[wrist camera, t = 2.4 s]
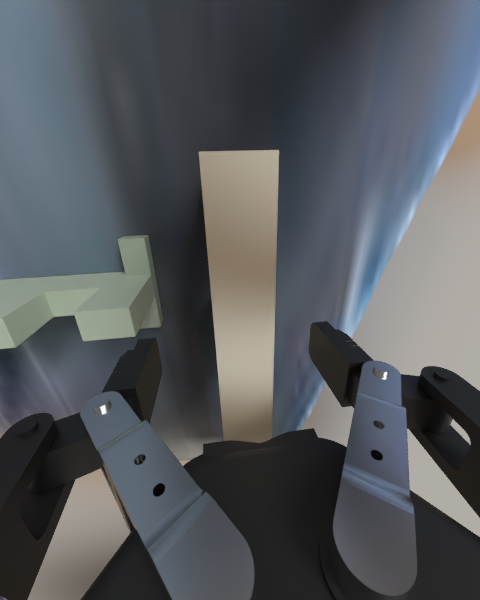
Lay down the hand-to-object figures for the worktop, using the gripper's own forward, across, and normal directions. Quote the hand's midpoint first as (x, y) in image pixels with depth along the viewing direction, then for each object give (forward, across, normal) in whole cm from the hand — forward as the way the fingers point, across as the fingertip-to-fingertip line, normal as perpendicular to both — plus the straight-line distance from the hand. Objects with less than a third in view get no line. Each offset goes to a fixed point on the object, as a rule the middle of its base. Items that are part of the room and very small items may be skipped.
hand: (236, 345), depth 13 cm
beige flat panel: (+11, 0, 0) cm, 11 cm away
